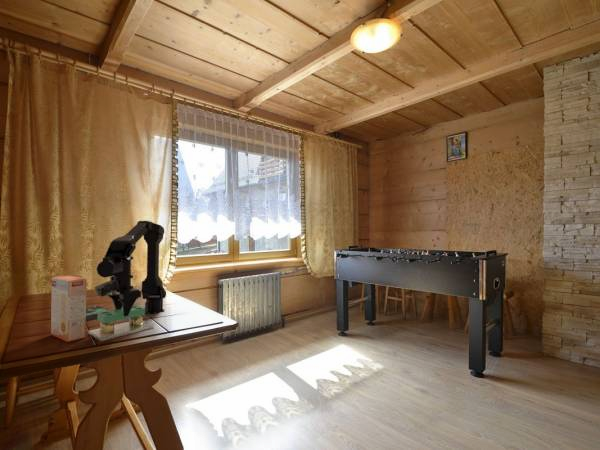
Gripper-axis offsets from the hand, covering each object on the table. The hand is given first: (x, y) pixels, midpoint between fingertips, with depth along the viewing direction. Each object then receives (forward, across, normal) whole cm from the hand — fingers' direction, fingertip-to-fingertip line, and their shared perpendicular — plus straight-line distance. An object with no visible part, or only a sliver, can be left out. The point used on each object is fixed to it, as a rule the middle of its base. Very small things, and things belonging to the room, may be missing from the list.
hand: (122, 314), depth 115 cm
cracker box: (+6, -8, -14) cm, 18 cm away
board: (+1, 0, 0) cm, 1 cm away
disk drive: (+7, -32, 0) cm, 33 cm away
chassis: (+6, 0, 0) cm, 6 cm away
